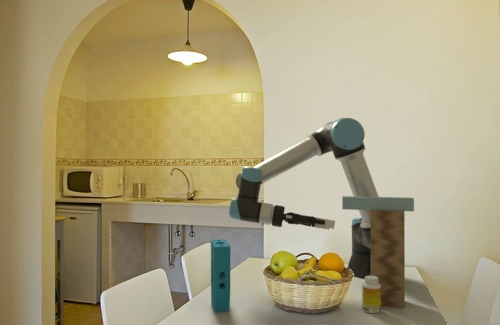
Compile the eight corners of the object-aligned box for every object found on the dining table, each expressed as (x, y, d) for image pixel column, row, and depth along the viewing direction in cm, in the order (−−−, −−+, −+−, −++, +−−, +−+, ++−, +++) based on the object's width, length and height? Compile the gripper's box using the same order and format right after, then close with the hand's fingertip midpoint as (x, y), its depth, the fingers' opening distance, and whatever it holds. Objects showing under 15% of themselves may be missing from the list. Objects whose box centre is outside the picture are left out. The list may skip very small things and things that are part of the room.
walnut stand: (371, 305, 127) (370, 210, 127) (370, 297, 135) (370, 208, 135) (404, 308, 124) (404, 211, 125) (402, 299, 132) (402, 209, 132)
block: (230, 312, 120) (230, 246, 121) (214, 314, 120) (214, 247, 120) (225, 299, 132) (225, 239, 132) (210, 300, 131) (210, 239, 131)
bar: (342, 209, 132) (342, 197, 132) (343, 208, 136) (343, 196, 136) (414, 211, 126) (413, 198, 126) (412, 210, 130) (412, 197, 130)
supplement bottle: (383, 314, 120) (383, 279, 120) (364, 314, 120) (364, 279, 120) (377, 307, 125) (377, 274, 125) (360, 307, 125) (359, 274, 125)
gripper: (271, 226, 155) (326, 236, 153) (269, 224, 130) (335, 235, 128) (274, 207, 156) (329, 216, 154) (273, 201, 132) (338, 212, 129)
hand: (332, 225), depth 141 cm, fingers open, 13 cm apart
